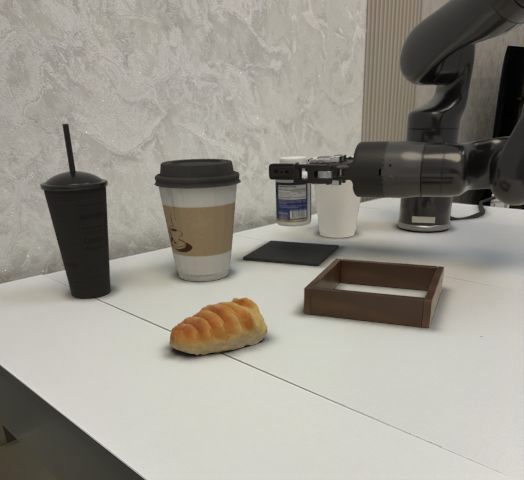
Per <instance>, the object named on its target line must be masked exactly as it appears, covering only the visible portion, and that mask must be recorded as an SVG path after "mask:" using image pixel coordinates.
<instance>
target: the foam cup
mask: <svg viewBox="0 0 524 480" xmlns="http://www.w3.org/2000/svg"><path fill="white" fill-rule="evenodd" d="M349 156H350V155H346V157H349ZM351 156H352V157H354V155H351ZM317 157H318V156H316V157H312V158H313V159H315V158H317ZM313 186H314V187H313V188H314V197H315V206H316V215H317V224H318V231H319V235H320V236H321V237H325V238H333V239H336V238H338V239H339V238H342V239H343V238H349V237H353V236H355V234H356V230H357V225H358V218H359V213H360V207H361V200H362V197H357V196H356V195H355V194H354V192H353V184H352V181H351V180H346V183H341V185H334V186H332V185H326V184H313Z"/></svg>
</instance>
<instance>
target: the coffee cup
mask: <svg viewBox="0 0 524 480" xmlns="http://www.w3.org/2000/svg"><path fill="white" fill-rule="evenodd" d="M154 181H155V183H154V184H153V185H154V186H155V187H158V191H159V192H158V193H159V196H160V200H161V205H162V210H163V215H164V219H165V224H166V228H167V234H168V239H169V242H170V243H169V244H170V247H171V252H172V257H173V260H174V265H175V270H176V271H177V273H178V277H179V278H180V279H182V280H185V281H188V282H189V281H190V282H212V281H213V282H214V281H217V280H221V279H224V278H226V277H228V276H229V274H230V269H231V264H232V251H233V238H234V228H235V227H234V226H235V225H234V224H235V212H236V201H237V200H236V199H237V186H238V184H240V183H242V180H241V179H240V171H239V172H238V171H236V170H235V169H234V164H233V160H231V159H226V158H224V159H223V158H188V159H185V158H183V159H174V160H167V161H162V162H160V168H159V173H157V174H156V175H154Z"/></svg>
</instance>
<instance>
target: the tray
mask: <svg viewBox="0 0 524 480" xmlns="http://www.w3.org/2000/svg"><path fill="white" fill-rule="evenodd" d="M444 273H445V266H440V265H428V264H427V265H426V264H412V263H402V262H401V263H399V262H390V261H389V262H388V261H375V260H362V259H349V258H337V257H336V258H335V259H334V260H332V262H331V263H329V265H327V266H326V267H325V268H324V269H323V270H322V271H321V272H320V273H319V274H317V275H316V277H314V278H313V279H312V280H311V281H310V282H309V283H308V284H307V285H306V286H305V287H304V288H303V314H304V315H305V314H306V315H313V316H323V317H331V318H341V319H349V320H358V321H364V322H365V321H366V322H375V323H383V324H392V325H401V326H409V327H417V328H427V329H429V328H430V326H431V323H432V320H433V317H434V314H435V311H436V308H437V305H438V303H439V299H440V296H441V293H442V291H443V283H444ZM340 283H343V284H353V285H364V286H374V287H375V286H376V287H388V288H397V289H407V290H419V291H427V292H426V295H425V297H422V296H411V295H401V294H392V293H391V294H390V293H383V292H381V293H380V292H372V291H371V292H370V291H359V290H350V289H349V290H348V289H339V288H337V286H338V285H339V284H340Z"/></svg>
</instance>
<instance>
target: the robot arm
mask: <svg viewBox="0 0 524 480" xmlns="http://www.w3.org/2000/svg"><path fill="white" fill-rule="evenodd" d="M522 26H524V0H448V1H447V2H445V3H444V4H443V5H442V6H440V7H439V8H438V9H436V10H435V11H433V12H432V13H430V14H428V16H427V17H425V18H423V19H422V20H421V21H420V22H418V23H417V24H416V25H415V26H413V28H412V29H411V30H410V31H409V33H408V34H407V36H406V38H405V39H404V41H403V44H402V46H401V49H400V52H399V58H398V67H399V68H398V69H399V71H400V74H401V76H402V77H403V79H404V80H405V81H407V82H408V83H410V84H412V85H415V86H416V85H417V86H435V87H434V92H433V95H432V97H431V98H430V99H429V100H428V101H426V102H425V103H424V104H422V105H421V106H418V107H416V108H414V109H411V110H410V111H409V112H408V114H407V115H406V123H405V124H406V125H405V128H406V129H405V138H404V140H386V141H385V140H384V141H383V140H381V141H379V140H378V141H375V140H374V141H360V142H358V143H357V144H356V147H355V148H354V152H353V155H348V156H349V157H346V156H347V154H346V153H345V154H343V153H341V154H335V155H320V156H316V157H317V158H316V157H310V158H307V159H306V162H307V163H299V162H296V163H280V162H279V163H275V162H274V163H270V164H269V165H268V178H269V180H272V181H275V180H293V183H296V184H299V183H311V185H314V184H326V185H332V186H334V185H341V183H346V180H351V181H352V184H353V192H354V194H355V195H356V196H357V197H361V198H375V199H377V198H378V199H400V202H399V213H398V220H397V227H398V228H400V229H402V230H406V231H411V232H412V231H413V232H425V233H426V232H428V233H429V232H430V233H431V232H441V231H446V230H449V229H450V228H451V221H462V220H471V219H475V218H477V217H480V216H483V215H484V214H485V213H486V208H485V207H484V204H485V203H489V202H491V201H494V200H497V201H499V202H501V204H502V203H503V204H504V205H507V206H515V207H516V206H522V205H524V105H523V106H522V110H521V114H520V116H519V119H518V121H517V122H516V124H515V126H514V127H513V129H512V132H511V133H510V135H509V136H499V137H491V138H485V139H478V140H473V141H467V142H460V139H461V130H462V129H461V128H462V124H463V123H462V122H463V118H464V115H465V114H466V110H467V107H468V103H469V96H470V91H471V84H472V78H473V73H474V69H475V68H474V66H475V61H476V52H477V44H479V43H481V42H484V41H488V40H490V39H494V38H496V37H499V36H502V35H505V34H507V33H509V32H512V31H514V30H516V29H518V28H521V27H522ZM352 156H354V157H352ZM313 158H315V159H313ZM302 168H305V171H306V172H307V177H302ZM485 189H486V190H487V189H488V190H489V189H490V191H491V193H492V195H493V196H490V197H488V198H485V199H482V200H479V202H478V206H479V210H480V211H477V212H475V213H473V214H470V215H467V216H464V217H455V216H452V215H451V214H452V209H453V208H452V207H453V199H454V197H459V196H461V195H463V194H464V193H466V192H467V191H470V190H471V191H472V190H485Z"/></svg>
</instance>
